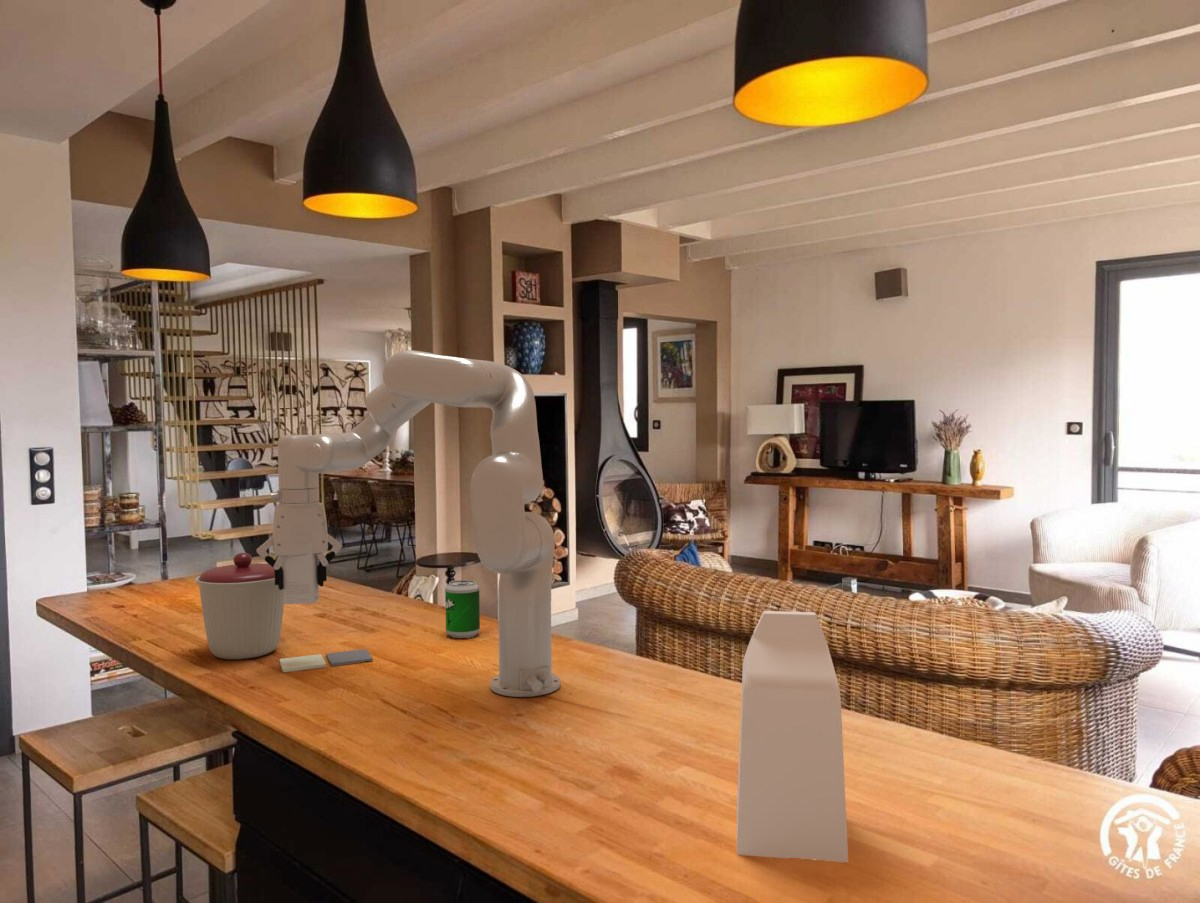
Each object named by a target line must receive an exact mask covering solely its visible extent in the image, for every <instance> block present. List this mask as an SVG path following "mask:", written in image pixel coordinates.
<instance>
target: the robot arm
mask: <svg viewBox="0 0 1200 903" xmlns="http://www.w3.org/2000/svg"><path fill="white" fill-rule="evenodd" d="M382 370H383V371H382V380H383V382H381V383H380V384H378V385H377V386H376V387H375V388H374V389H372V390H371V391H370V392H369V393H368V394H367V395H366V397H365V407H366V410H367V412H368V415H367V416H366V418H365V419H363V420H362V421H361V422H360V423H358V425H356V426H354V427H353V428H352V429H351V430H349V431H347V432H337V433H336V432H334V433H318V434H313V435H312V434H286V435H282V436H280V437H279V438H278V441H277V464H278V465H277V470H278V479H277V480H278V489H277V490H276V491H274V492H273V491H272V492H270V499H271V500H276V501H277V502H278V503H277V504H275V506H274V513H273V520H272V535H271V536H270V537H269V538H268V539H267V540H265V542H264V543H262V544H261V545H259V547H257V548H256V553H257V554H258V555H259V556H260V557H261V558H262V559H263V560H264V561H265V563H266V564H269V565H271V566H272V567H273V568H274V572H275V585H278V588H279V590H282V589H283V569H282V566H281V565H282V563H283V561H284V559H285V557H288V556H303V555H307V554H310V544H311V543H312V554H313V555H317V560H318V587H324V582H327V576H328V575H327V566H328V565H329V563H330V562H331V561H332V560H333V559H334V558H335V557H336V556H337V554H338V553H339V552H340V551H341V549H342V548H343V544H342V543H341V542H340V541H338V540H337V539H335V538H334V537H333V536H331V535H330V534H329V533H328V524H327V515H326V514H327V513H326V510H325V505H324V504H325V503H323V502H320V485H319V484H320V476H319V475H320V474H330V473H336V472H337V473H338V472H345V471H354V470H356V469H359V468H361V467H363V466H365V465H366V464H368V463H369V462H370V461H372V460H373V459H374V458H375V457H377V456H379V454H381V453H382V452H383V451H384V450H386V448H387V447H388V446H390V444H391V443H392V442H393V440H394V439H395V436H396V435H397V432H398V429H399V428H401V427H402V426H403V425H404V424H406V423H407V422H409V420H410V419H412V418H413V417H415V416H416V415H417V414H418V413H420V411H422V410H423V409H425V408H426V407H427V406H429V405H430V404H436V405H444V406H451V407H456V408H457V407H458V408H487V409H491V411H492V417H491V423H490V441H491V453H492V454H491V455H489V456H487V457H485V458H484V459H483V460H481V461H480V462H479V463H478V464H477V465H476V467H475V469H474V471H473V473H472V476H471V479H470V491H469V492H470V501H471V502H470V503H471V513H472V523H473V524H472V526H473V535H474V543H475V549H476V552H477V556H478V558H479V560H480V562H481V564H482V565H483V566H484V567H485V568H486V569H487V570H489V571H490V572H493V573H495V574H498V575H499V577H498V588H497V589H498V590H497V591H498V592H497V595H498V596H497V600H498V602H497V603H498V604H497V605H498V607H497V610H498V611H497V612H498V620H497V621H498V675H496V676H494V677H493V678H492V679H491V680H490V689H491V690H492V692H494V693H495V694H498V695H501V696H506V697H512V698H513V697H514V698H530V697H531V698H532V697H540V696H544V695H548V694H551V693H553V692H555V691H557V690H558V689H559V688H560V687H561V678H560V677H559V676H558V675H556V674H555V673H553V672H552V670H553V669H552V666H553V665H552V659H553V658H552V652H553V650H552V573H553V572H552V571H553V563H554V557H555V556H554V555H555V546H556V545H555V534H554V531H553V527H552V525H551V524H550V522H549V521H548V520H547V519H546V518H545V517H543V516H542V515H541V514H539V513H537V512H532V511H525V505H527V504H529V503H532V502H533V501H535V500H536V499H537V498H538V497H539V496H540V494H541V493H542V490H543V486H544V476H543V475H544V474H543V469H542V468H543V467H542V455H541V447H540V446H541V445H540V439H539V438H540V436H539V432H538V419H537V405H536V399H535V394H534V392H533V388H532V386H531V384H530V382H529V381H528V380H527V378H526V377H525V376H524V375H523V374H522V373H521V372H519V371H518V370H516V369H514V368H513V367H510V366H508V365H506V364H503V363H499V362H495V361H491V360H484V359H483V360H482V359H473V358H465V357H459V356H458V357H457V356H450V355H449V356H448V355H443V354H442V355H440V354H436V353H434V352H433V353H432V352H428V351H421V350H412V349H405V350H400V351H397V352H396V353H394V354H393V355H392V356H390V357H389V358H388V359H387V361H386V363H385V364H384V367H383V369H382ZM329 544H330V545H332V547H331V549H330V550H329V551H328V549H329ZM271 547H272V550H273V551H274V553H275V554H276V555H277V556H276V558H275V560H274V559H273V558H272V557H271V556H270V554H269V553H268V552H267V550H268V549H270V548H271ZM327 551H328V552H327ZM326 552H327V553H326ZM324 553H326V554H324Z"/></svg>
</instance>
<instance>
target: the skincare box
mask: <svg viewBox="0 0 1200 903" xmlns="http://www.w3.org/2000/svg"><path fill="white" fill-rule="evenodd" d="M318 565H319V561H318V557H317V555H313V554H312V543H311V544H310V554H307V555H303V556H288V557H285V559H284V561H283V563H282V569H283V591H284V605H303V604H307V605H309V604H315V603H317V602H318V601H319V600H320V594H319V592H320V591H319V590H320V588H319V587H320V586H319V584H318Z"/></svg>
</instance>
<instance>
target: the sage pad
mask: <svg viewBox="0 0 1200 903" xmlns="http://www.w3.org/2000/svg"><path fill="white" fill-rule="evenodd" d="M279 665H280V668H281V671H282V673H290V672H299V671H306V670H307V671H308V670H313V669H322V668H327V663H326V661H325V659H324V657H323V655H322V654H321V653H319V654H318V653H317V654H310V655H302V656H301V655H300V656H294V657H285V658H279Z"/></svg>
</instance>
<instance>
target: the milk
mask: <svg viewBox="0 0 1200 903" xmlns="http://www.w3.org/2000/svg"><path fill="white" fill-rule="evenodd" d="M817 616H818V615H817V614H816V612H815V611H814V612H811V611H810V612H809V611H785V610H784V611H783V610H781V611H777V610H763V611H762V613H761V616H760V618H759V620H758V621H757V622H758V623H757V624H756V626H755V628H754V630H753V633H752V635H751V637H750V640H749V643H748V645H747V648H746V651H745V654H744V658H743V661H742V675H741V677H742V678H741V695H740V696H741V698H740V700H741V701H740V726H739V744H738V745H739V748H738V750H739V751H738V766H737V767H738V771H737V794H736V795H737V796H736V855H737V856H750V857H762V858H764V857H765V858H775V859H776V858H778V859H779V858H780V859H789V858H804V859H816V860H815V861H817V860H827V861H826V862H830V861H836V862H835V863H844V862H848V863H849V848H848V830H847V829H848V828H847V826H848V825H847V824H848V823H847V809H846V808H847V807H846V805H847V804H846V784H845V762H844V742H843V741H844V740H843V739H844V738H843V721H842V720H843V719H842V717H843V716H842V701H841V692H840V685H839V681H838V678H837V674H836V671H835V667H834V666H835V665H834V663H833V659H832V655H831V652H830V649H829V646H828V642H827V639H826V636H825V634H824V630H823V629H822V626H821V624H820V622H819V621H820V620H819V619H818V617H817ZM837 861H838V862H837Z"/></svg>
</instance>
